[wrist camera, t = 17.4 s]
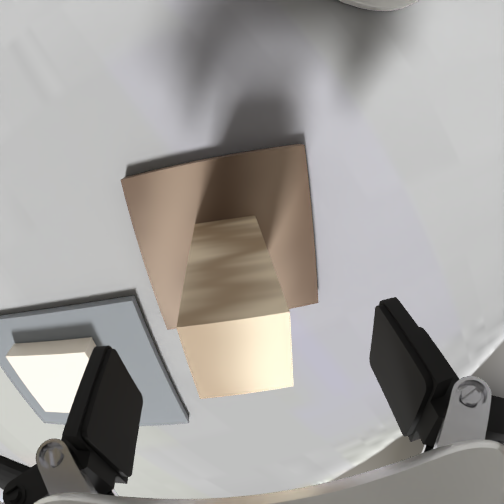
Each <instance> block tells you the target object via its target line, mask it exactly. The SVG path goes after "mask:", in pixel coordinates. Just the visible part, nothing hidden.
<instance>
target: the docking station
mask: <svg viewBox="0 0 504 504" xmlns="http://www.w3.org/2000/svg"><path fill="white" fill-rule="evenodd" d="M28 469H30V468H29V467H27V466H24V465H21V464H19V463H16V462H14V461H11V460H9V459H7V458H4V457H2V456H0V488H2V489H3V490H4V488H5V486H6V485H7V484H8V483H9V482H10V481H11V480H13V479H14V478H16V477H18V476H19V475H21V474H22V473H24V472H25V471H27V470H28Z"/></svg>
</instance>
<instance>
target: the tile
mask: <svg viewBox="0 0 504 504" xmlns="http://www.w3.org/2000/svg"><path fill="white" fill-rule="evenodd" d="M94 347H96V344H95V342H94V341H93V339H92V337H88V338H78V339H68V340H57V341H45V342H31V343H16V344H13V346H12V347H11V349H10V350H9V352H8V353H7V355H6V358H7V359H8V361H9V362H10V364H11V365H12V367H13V368H14V370H15V371H16V373H17V374H18V376H19V377H20V379H21V380H22V381H23V383H24V384H25V386H26V387H27V388H28V390H29V391H30V392H31V394H32V395H33V396H34V398H35V399H36V400H37V401H38V403H39V404H40V405H41V407H42V408H43V409H44V410H45V412H61V413H69V412H70V410H71V407H72V404H73V401H74V398H75V395H76V392H77V390H78V387H79V384H80V382H81V379H82V376H83V374H84V371H85V368H86V366H87V363H88V361H89V358H90V356H91V353H92V351H93V349H94Z"/></svg>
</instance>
